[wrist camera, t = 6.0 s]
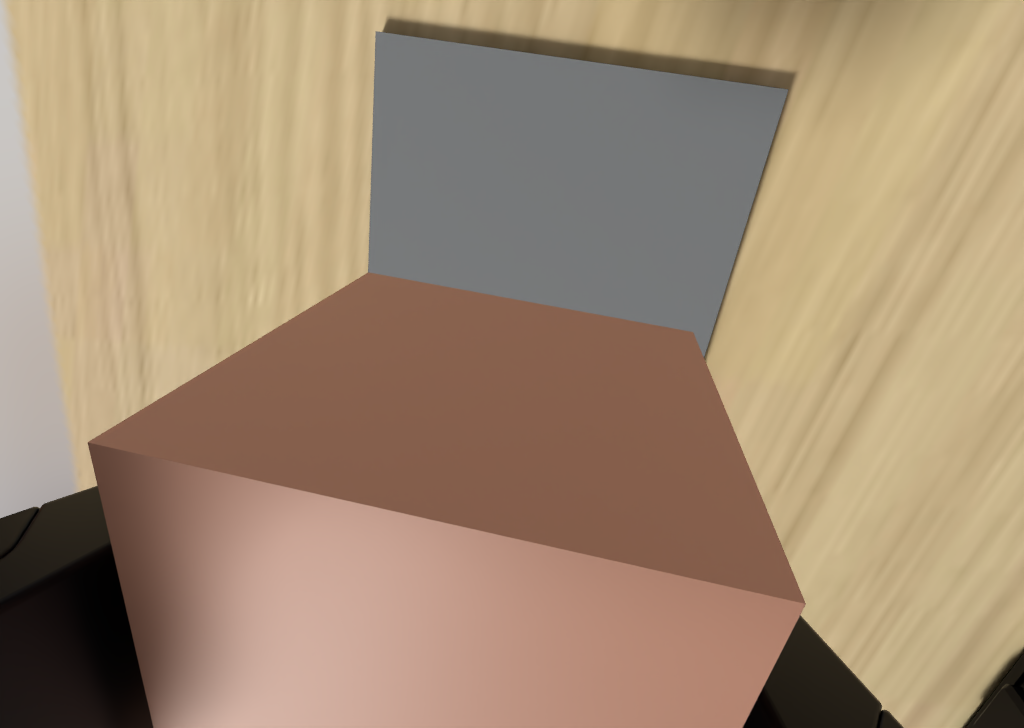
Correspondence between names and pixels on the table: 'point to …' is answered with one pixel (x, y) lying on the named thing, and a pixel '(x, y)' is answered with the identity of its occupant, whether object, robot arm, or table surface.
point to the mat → (563, 179)
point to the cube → (446, 525)
